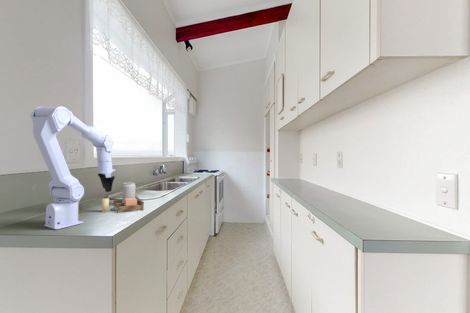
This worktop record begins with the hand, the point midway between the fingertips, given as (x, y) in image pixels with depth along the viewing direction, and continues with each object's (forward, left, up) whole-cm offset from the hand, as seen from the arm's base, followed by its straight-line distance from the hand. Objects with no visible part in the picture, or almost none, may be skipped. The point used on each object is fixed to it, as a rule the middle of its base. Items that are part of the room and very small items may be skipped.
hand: (107, 189), depth 107 cm
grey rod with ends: (+5, -3, -10) cm, 12 cm away
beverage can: (+14, +2, -11) cm, 18 cm away
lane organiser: (+11, -1, -10) cm, 15 cm away
